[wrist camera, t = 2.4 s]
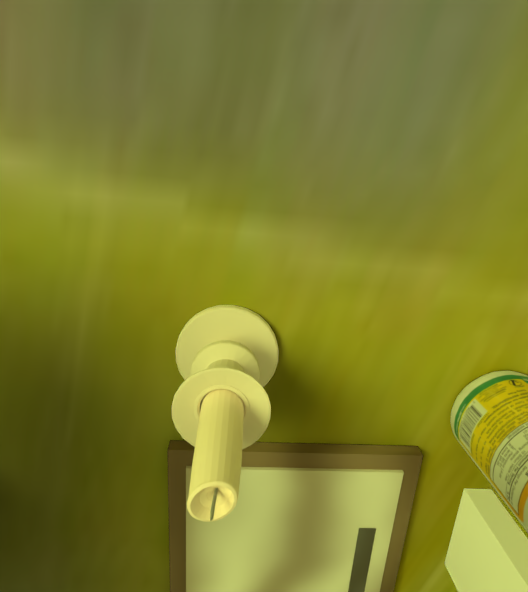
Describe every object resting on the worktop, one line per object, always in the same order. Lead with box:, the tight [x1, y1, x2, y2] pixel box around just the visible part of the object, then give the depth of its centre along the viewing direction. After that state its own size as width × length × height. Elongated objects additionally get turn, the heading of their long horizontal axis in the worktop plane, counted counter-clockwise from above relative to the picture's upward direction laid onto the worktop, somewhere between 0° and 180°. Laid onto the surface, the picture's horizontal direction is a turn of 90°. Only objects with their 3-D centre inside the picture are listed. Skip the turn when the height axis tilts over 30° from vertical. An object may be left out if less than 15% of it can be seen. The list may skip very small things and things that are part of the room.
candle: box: [172, 305, 279, 522], centre depth 16 cm, size 5×5×10 cm
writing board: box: [168, 440, 423, 592], centre depth 25 cm, size 14×17×1 cm
